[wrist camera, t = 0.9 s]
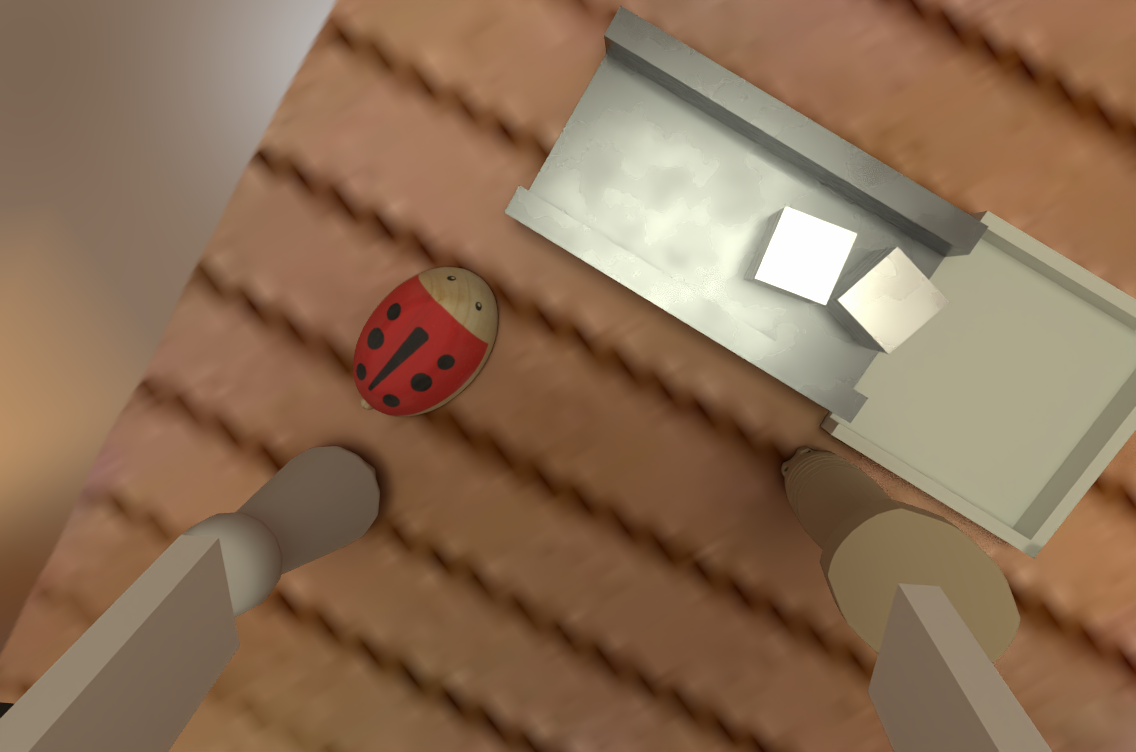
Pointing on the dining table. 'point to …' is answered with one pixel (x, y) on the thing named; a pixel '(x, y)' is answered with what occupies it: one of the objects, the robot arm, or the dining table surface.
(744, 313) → the rail
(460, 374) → the ladybug figurine
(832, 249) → the pale beige cube
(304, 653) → the dining table surface
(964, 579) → the handle
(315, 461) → the salt shaker
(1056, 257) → the tray
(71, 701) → the robot arm
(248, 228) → the dining table surface
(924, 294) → the pale grey cube
